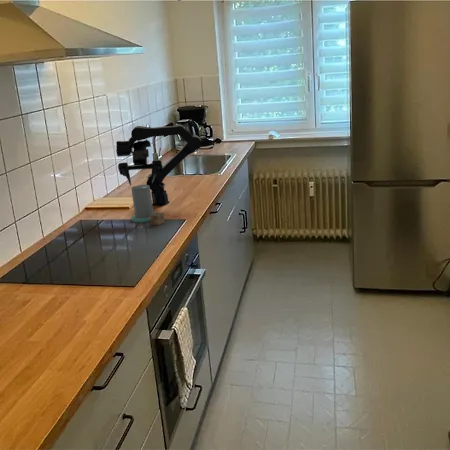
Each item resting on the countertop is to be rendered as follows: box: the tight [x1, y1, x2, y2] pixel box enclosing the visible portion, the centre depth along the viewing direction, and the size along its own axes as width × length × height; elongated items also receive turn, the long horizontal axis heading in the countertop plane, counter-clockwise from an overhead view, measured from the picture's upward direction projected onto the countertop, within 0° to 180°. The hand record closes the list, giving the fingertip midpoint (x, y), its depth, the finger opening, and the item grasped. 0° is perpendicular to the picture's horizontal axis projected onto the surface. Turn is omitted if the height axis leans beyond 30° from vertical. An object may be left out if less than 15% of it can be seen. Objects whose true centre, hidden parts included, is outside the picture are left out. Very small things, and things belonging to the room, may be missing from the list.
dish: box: [130, 211, 155, 224], centre depth 216 cm, size 11×11×1 cm
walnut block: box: [149, 211, 165, 226], centre depth 207 cm, size 4×4×4 cm
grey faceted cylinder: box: [130, 184, 154, 219], centre depth 213 cm, size 7×7×12 cm
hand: (141, 183), depth 219 cm, fingers open, 9 cm apart
